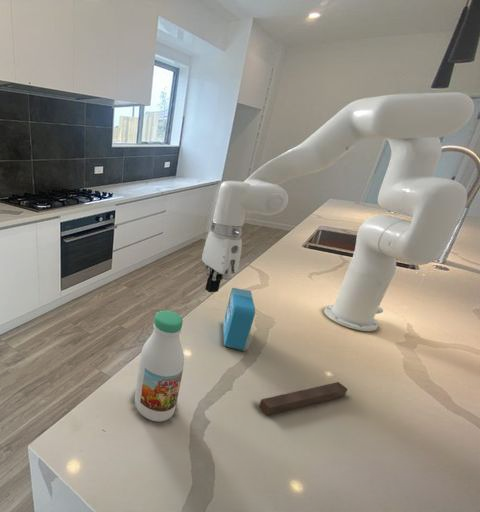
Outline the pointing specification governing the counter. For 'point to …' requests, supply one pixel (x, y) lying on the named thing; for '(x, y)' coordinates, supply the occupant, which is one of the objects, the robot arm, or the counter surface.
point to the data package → (238, 318)
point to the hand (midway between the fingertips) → (211, 290)
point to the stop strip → (302, 398)
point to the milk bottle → (160, 369)
